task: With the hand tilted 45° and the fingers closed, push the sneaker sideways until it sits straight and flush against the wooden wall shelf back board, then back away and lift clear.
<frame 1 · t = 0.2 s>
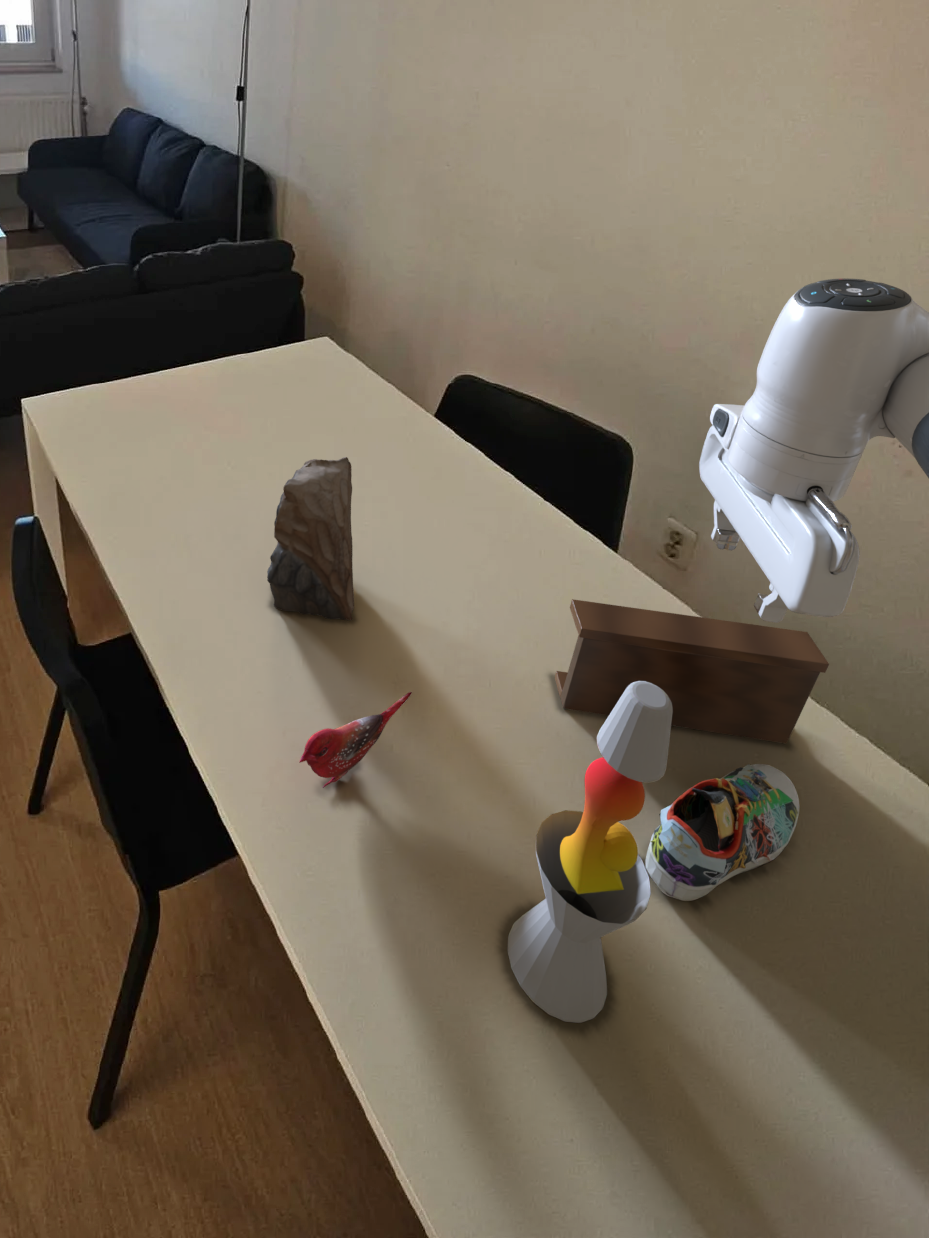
hand: (743, 578, 72), 32 cm above the table, tool pointing down, fingers open, 8 cm apart
lava lamp: (555, 965, 70), on the table
sneaker: (718, 840, 81), on the table
brown rock: (315, 595, 112), on the table
decorative bird figurine: (353, 768, 88), on the table
wooden wall shelf: (670, 720, 94), on the table
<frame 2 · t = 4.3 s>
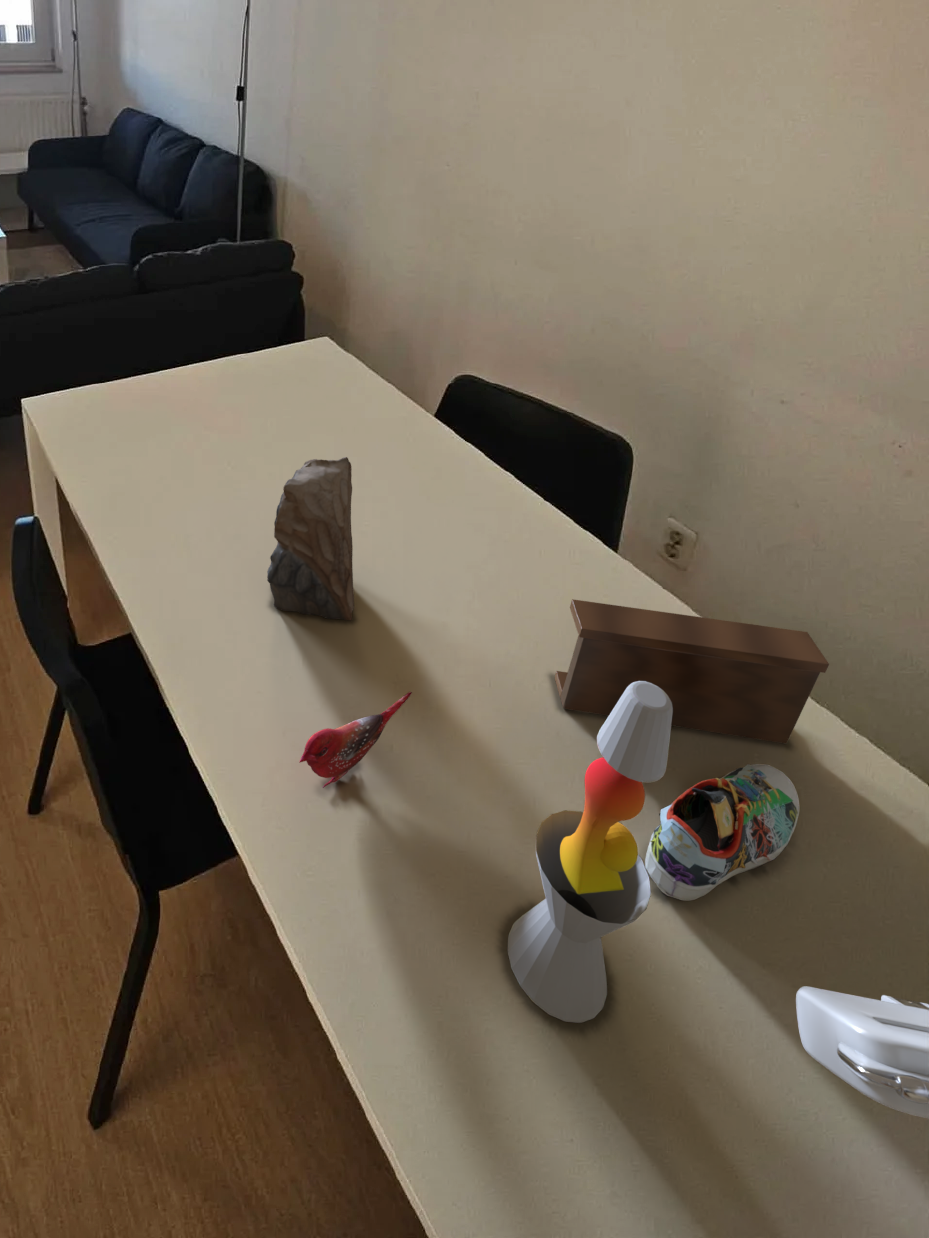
hand: (903, 1012, 55), 15 cm above the table, tool tilted 45°, fingers closed
nothing on the table moved.
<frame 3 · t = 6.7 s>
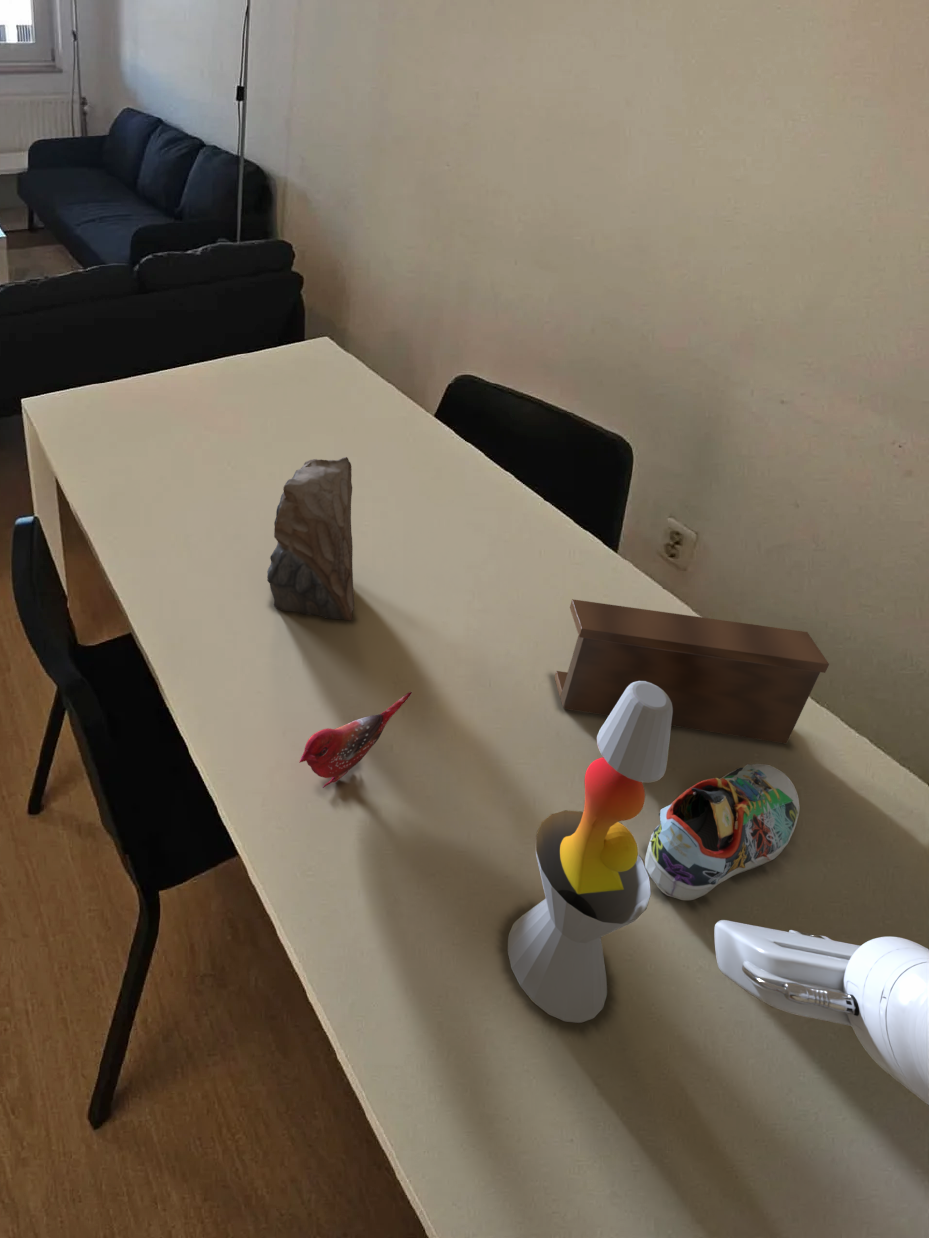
hand: (807, 943, 66), 7 cm above the table, tool tilted 45°, fingers closed
nothing on the table moved.
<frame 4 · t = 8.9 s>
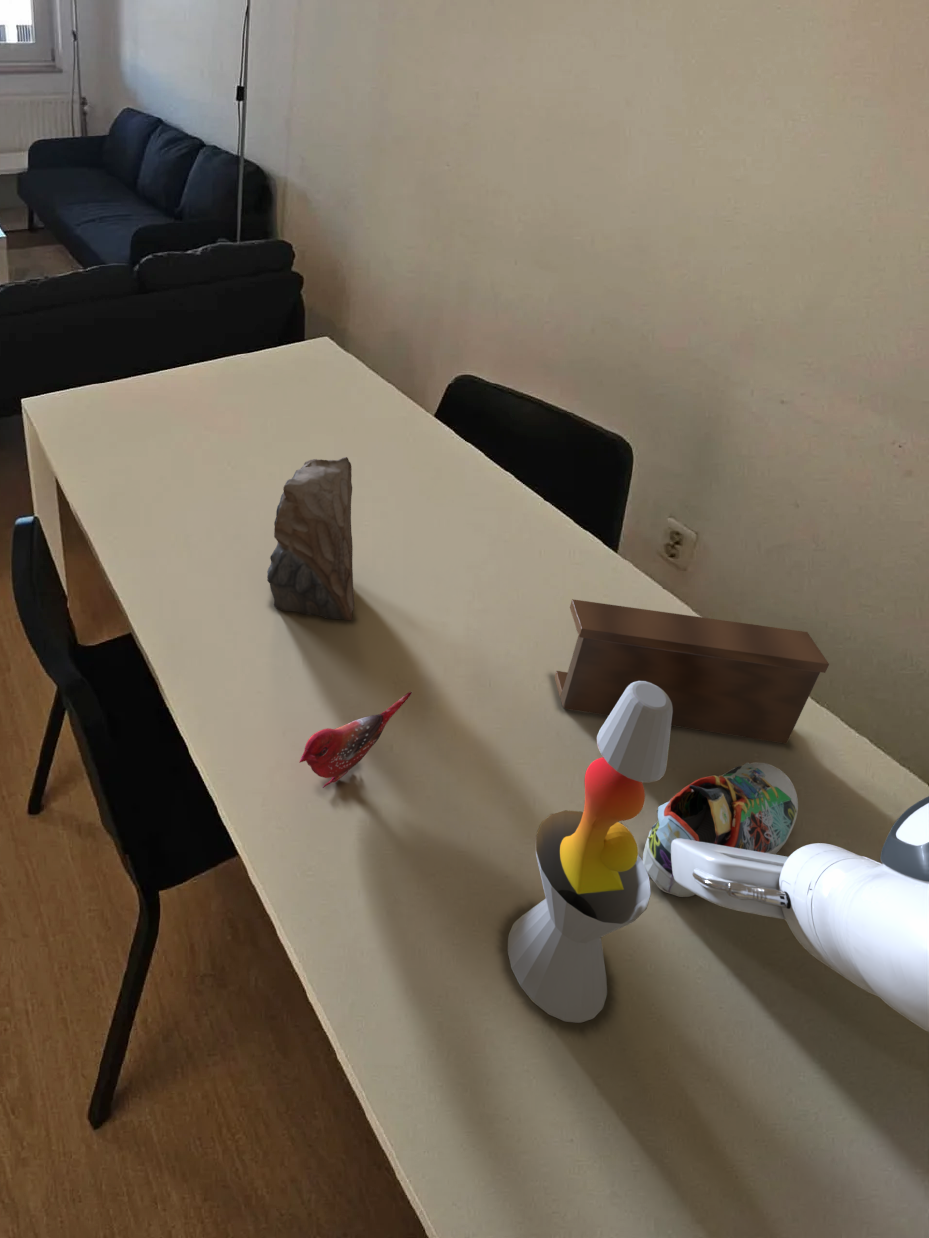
hand: (754, 862, 75), 5 cm above the table, tool tilted 45°, fingers closed
sneaker: (716, 838, 82), on the table, touching gripper
everything else where it was.
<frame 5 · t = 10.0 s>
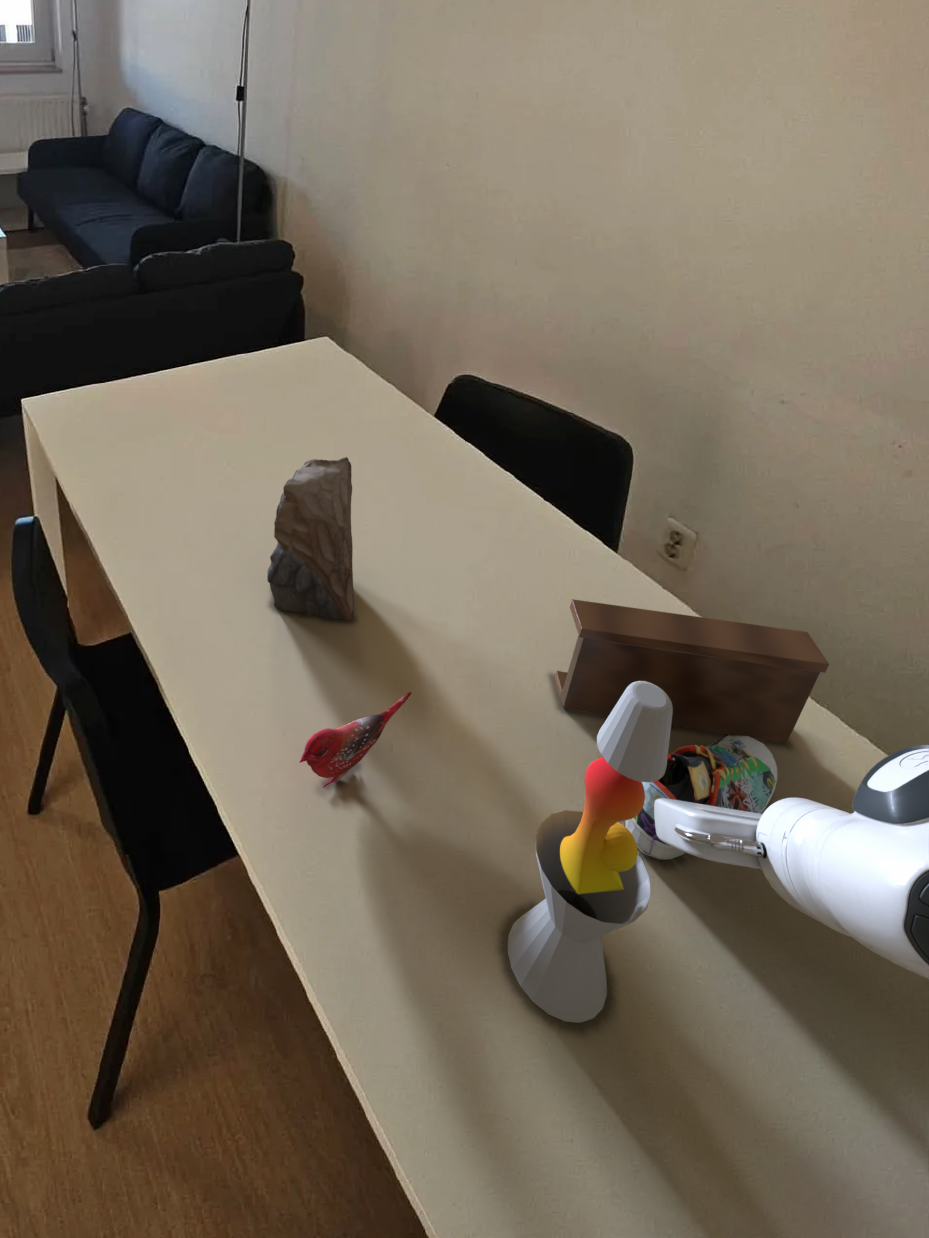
hand: (733, 822, 78), 5 cm above the table, tool tilted 45°, fingers closed
sneaker: (698, 806, 85), on the table, touching gripper
everything else where it was.
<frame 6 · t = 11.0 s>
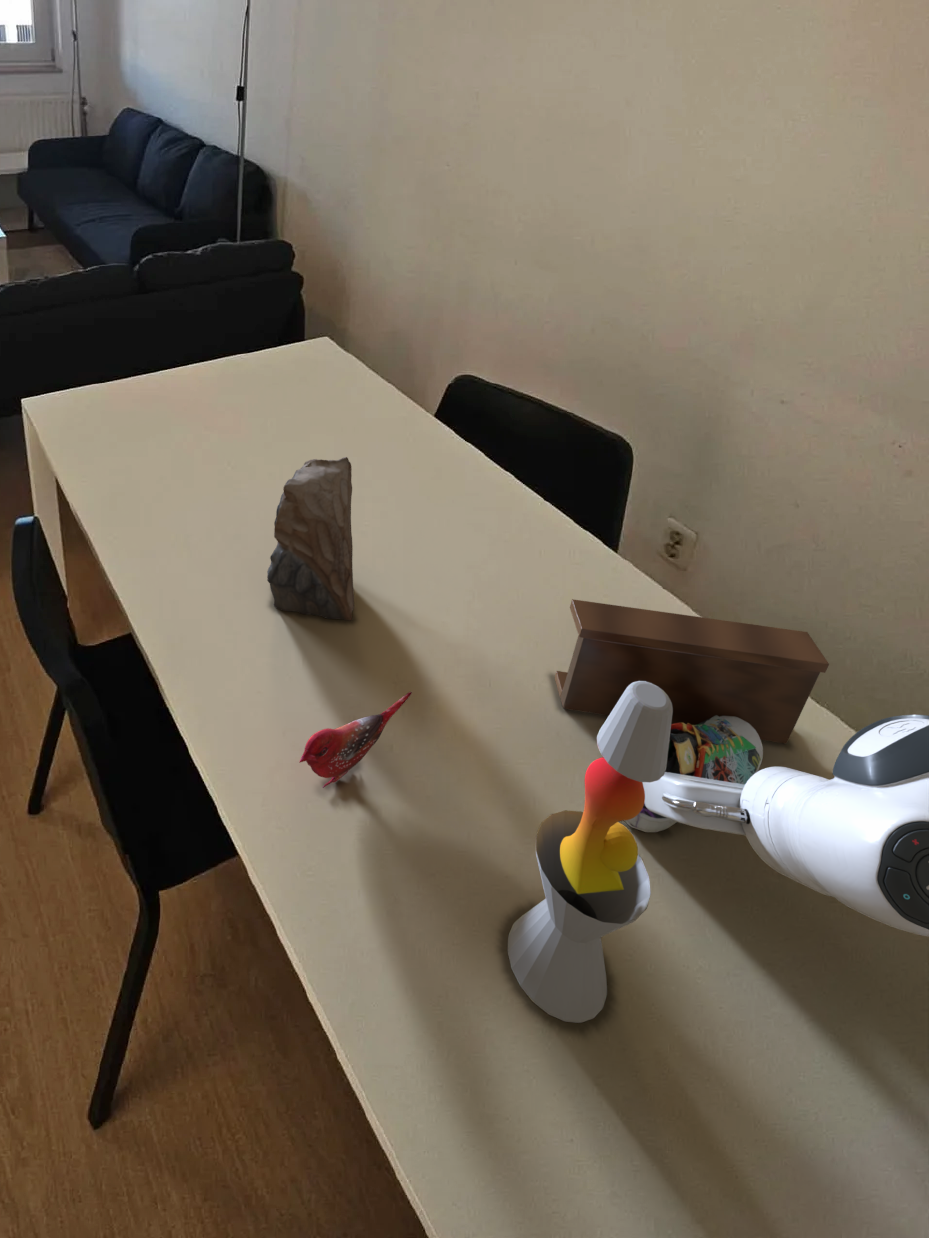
hand: (719, 794, 81), 5 cm above the table, tool tilted 45°, fingers closed
sneaker: (685, 783, 87), on the table, touching gripper, wooden wall shelf
everything else where it was.
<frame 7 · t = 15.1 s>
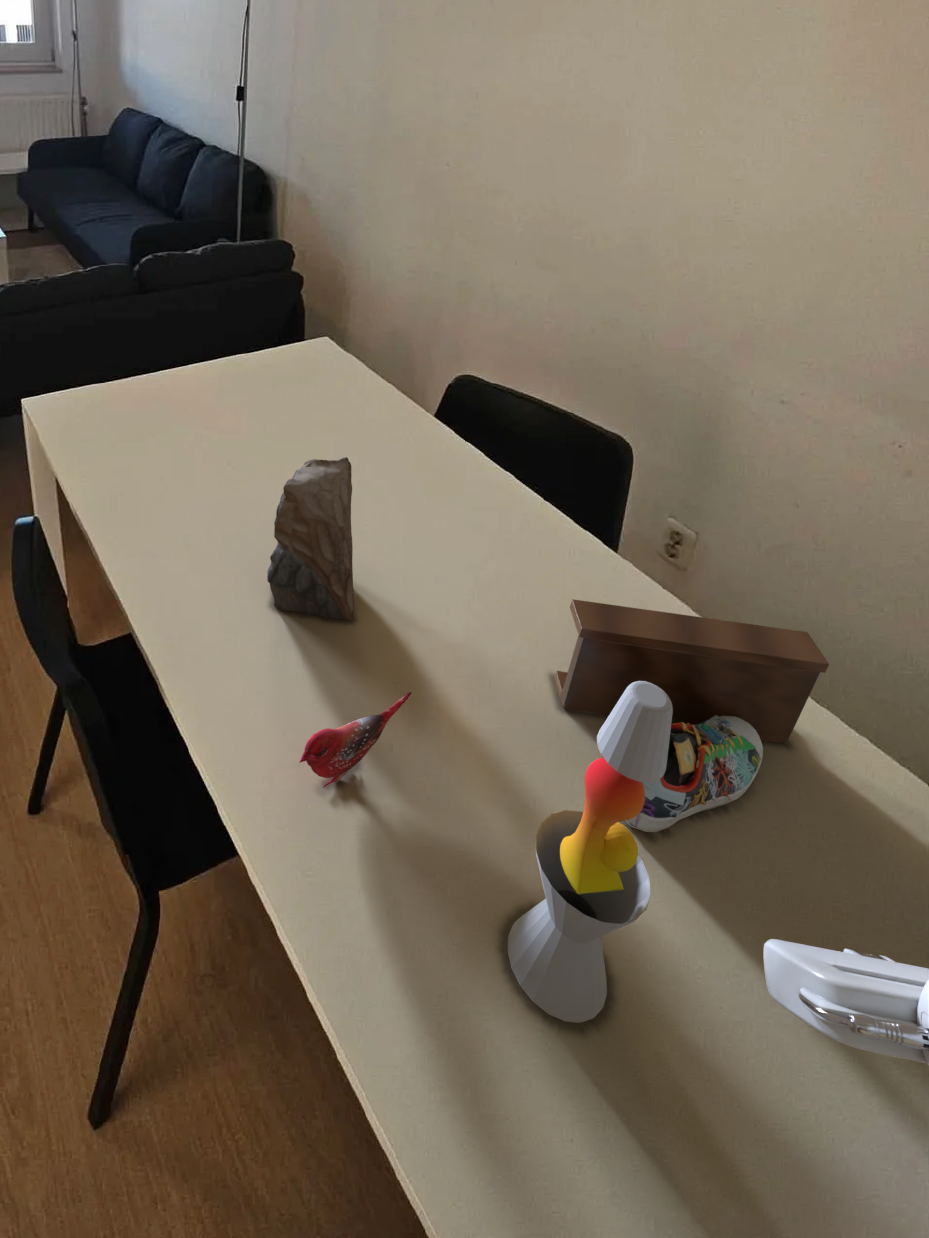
hand: (864, 964, 60), 13 cm above the table, tool tilted 45°, fingers closed
sneaker: (685, 782, 87), on the table, touching wooden wall shelf
everything else where it was.
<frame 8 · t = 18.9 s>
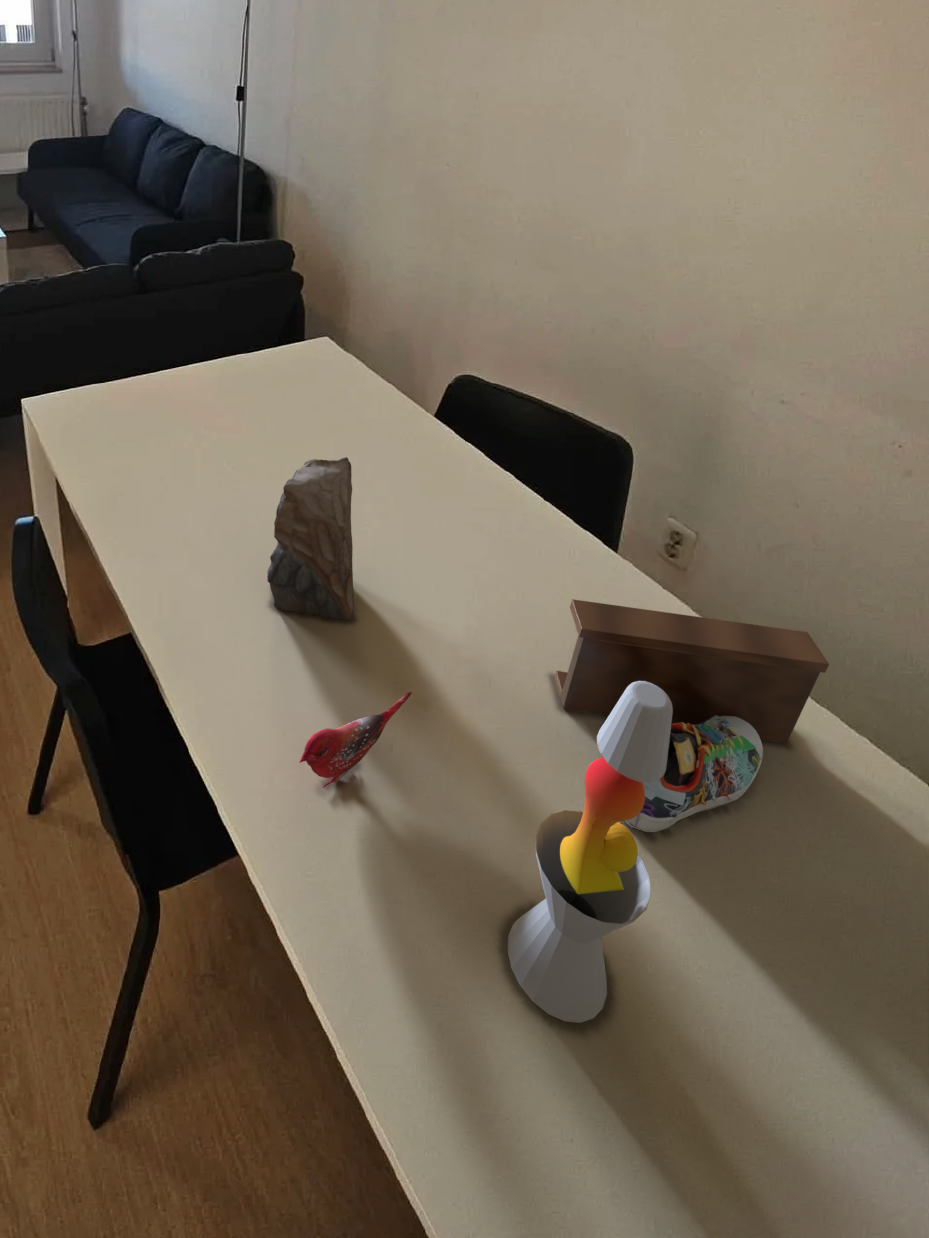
nothing on the table moved.
at the end: sneaker inside the target area (0.8 cm from its centre), on the table; sneaker tilted 1° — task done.
